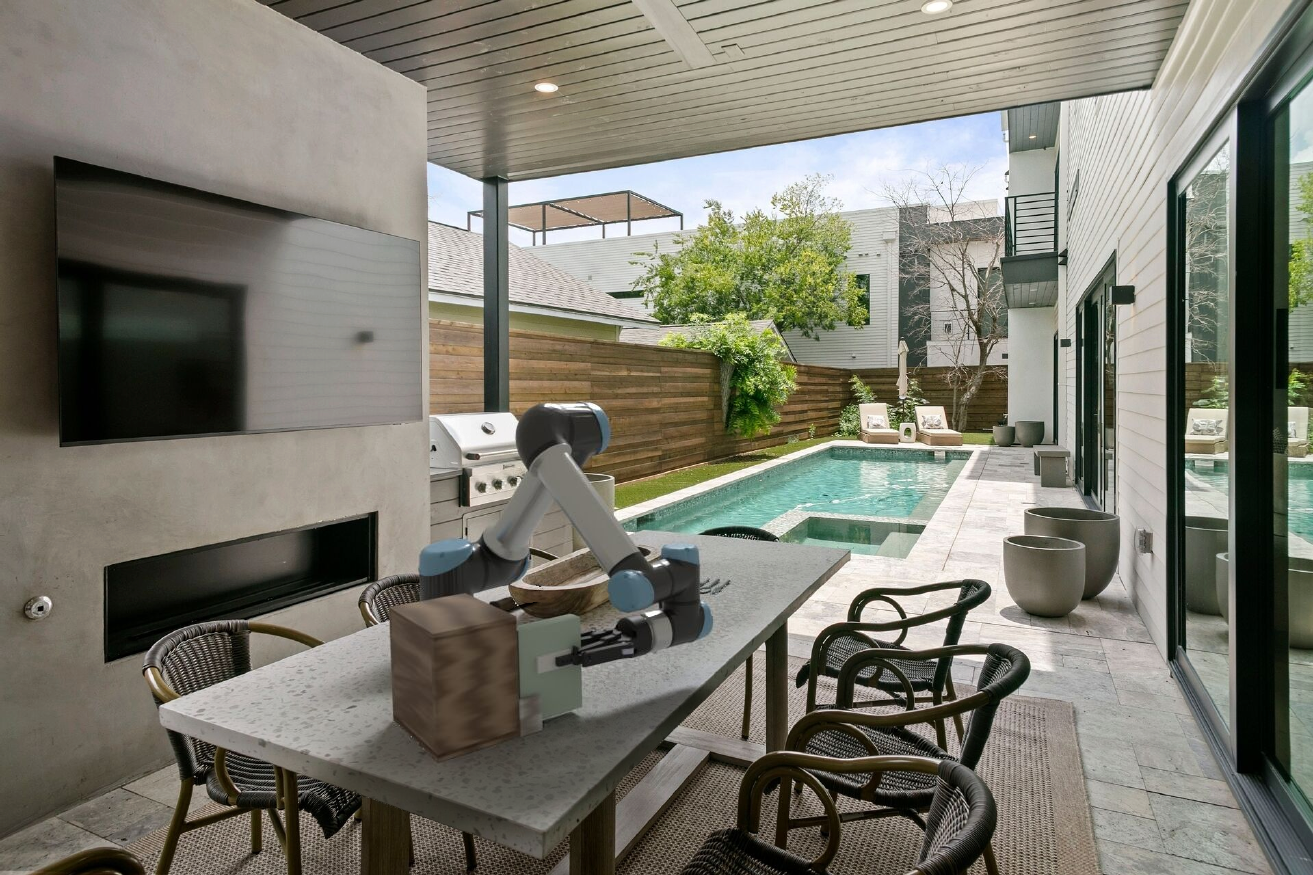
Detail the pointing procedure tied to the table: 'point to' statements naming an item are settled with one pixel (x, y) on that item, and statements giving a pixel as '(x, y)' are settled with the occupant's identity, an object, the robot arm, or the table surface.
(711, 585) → the cutlery set
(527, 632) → the cabinet door
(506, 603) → the hand tool
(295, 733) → the table surface
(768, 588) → the table surface
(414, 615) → the cabinet
